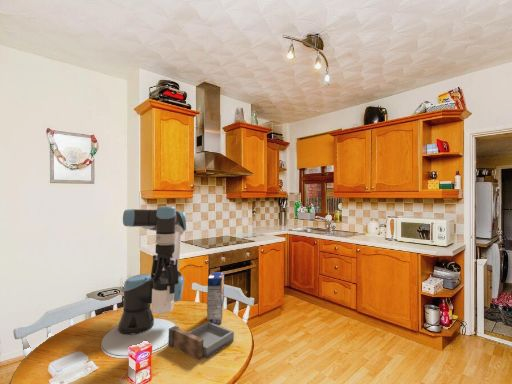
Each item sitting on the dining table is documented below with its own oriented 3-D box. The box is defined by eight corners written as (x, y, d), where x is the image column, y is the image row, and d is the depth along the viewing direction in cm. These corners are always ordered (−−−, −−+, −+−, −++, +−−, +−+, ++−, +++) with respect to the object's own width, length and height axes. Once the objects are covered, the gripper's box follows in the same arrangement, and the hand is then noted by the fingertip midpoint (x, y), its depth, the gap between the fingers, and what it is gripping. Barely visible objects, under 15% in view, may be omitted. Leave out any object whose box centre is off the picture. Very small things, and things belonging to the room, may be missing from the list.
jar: (153, 316, 105) (154, 285, 105) (149, 308, 112) (150, 279, 112) (176, 311, 110) (177, 282, 110) (171, 304, 117) (172, 276, 117)
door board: (168, 345, 110) (168, 328, 110) (174, 342, 112) (175, 325, 113) (197, 361, 100) (198, 342, 100) (204, 357, 102) (204, 338, 103)
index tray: (180, 345, 110) (180, 335, 110) (208, 330, 123) (208, 321, 123) (206, 358, 102) (207, 348, 102) (233, 340, 115) (233, 331, 115)
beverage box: (206, 324, 129) (207, 278, 130) (210, 314, 140) (211, 272, 141) (220, 324, 130) (222, 278, 130) (223, 314, 140) (224, 272, 141)
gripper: (142, 241, 114) (141, 294, 114) (173, 248, 102) (171, 308, 102) (158, 239, 120) (156, 289, 120) (189, 245, 108) (187, 302, 108)
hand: (163, 298), depth 111 cm, fingers closed on jar, 8 cm apart
